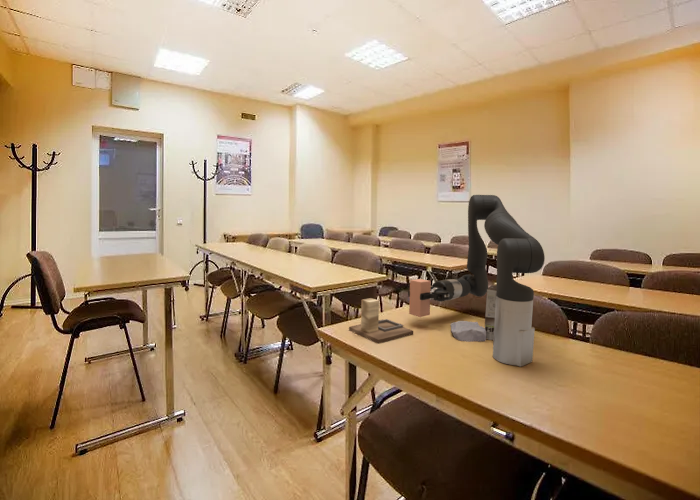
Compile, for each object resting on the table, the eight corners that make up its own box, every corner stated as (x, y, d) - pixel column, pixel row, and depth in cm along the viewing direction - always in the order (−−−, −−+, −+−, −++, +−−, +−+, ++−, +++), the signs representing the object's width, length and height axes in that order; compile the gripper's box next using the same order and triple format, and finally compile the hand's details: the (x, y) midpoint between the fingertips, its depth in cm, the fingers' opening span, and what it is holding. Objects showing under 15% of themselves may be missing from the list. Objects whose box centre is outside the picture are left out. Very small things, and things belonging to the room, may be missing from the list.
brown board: (413, 334, 122) (413, 330, 122) (378, 343, 114) (378, 339, 113) (382, 322, 134) (382, 319, 134) (349, 330, 126) (349, 326, 125)
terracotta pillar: (429, 314, 130) (430, 280, 129) (419, 317, 128) (420, 282, 126) (419, 311, 134) (420, 278, 133) (409, 313, 132) (410, 280, 130)
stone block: (457, 347, 117) (489, 341, 116) (455, 332, 116) (487, 326, 116) (448, 336, 128) (477, 330, 128) (445, 322, 128) (475, 317, 128)
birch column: (378, 330, 122) (378, 300, 121) (368, 332, 119) (369, 302, 118) (370, 327, 125) (371, 298, 124) (360, 329, 123) (361, 299, 122)
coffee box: (505, 342, 116) (508, 291, 114) (483, 338, 119) (486, 289, 117) (509, 334, 124) (512, 286, 122) (488, 331, 127) (491, 284, 125)
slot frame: (403, 327, 126) (403, 325, 125) (384, 331, 121) (384, 329, 121) (386, 321, 132) (386, 319, 132) (368, 325, 127) (368, 323, 127)
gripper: (432, 277, 144) (400, 281, 134) (463, 283, 133) (431, 288, 123) (431, 296, 145) (399, 302, 135) (462, 303, 133) (430, 310, 123)
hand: (414, 295), depth 129 cm, fingers closed on terracotta pillar, 5 cm apart
